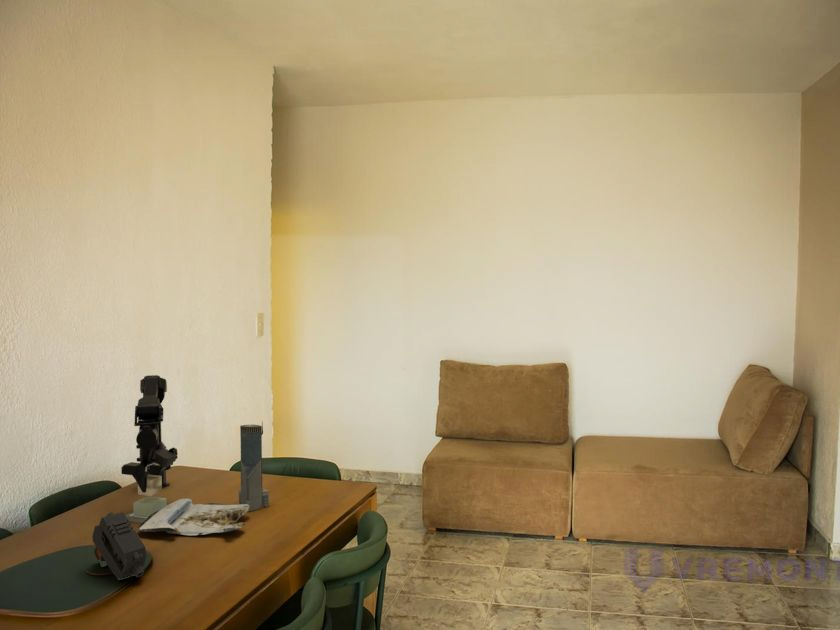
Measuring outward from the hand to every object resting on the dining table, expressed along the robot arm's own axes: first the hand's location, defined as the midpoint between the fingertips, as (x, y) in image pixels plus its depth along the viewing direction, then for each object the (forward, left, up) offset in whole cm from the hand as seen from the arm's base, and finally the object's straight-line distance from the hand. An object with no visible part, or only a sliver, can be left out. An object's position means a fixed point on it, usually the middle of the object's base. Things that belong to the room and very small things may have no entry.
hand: (149, 489), depth 220 cm
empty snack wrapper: (+5, +22, -8) cm, 24 cm away
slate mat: (0, 0, -8) cm, 8 cm away
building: (-16, +27, -8) cm, 32 cm away
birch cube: (0, 0, -1) cm, 1 cm away
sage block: (0, 0, -7) cm, 7 cm away
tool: (+39, +23, -8) cm, 46 cm away
